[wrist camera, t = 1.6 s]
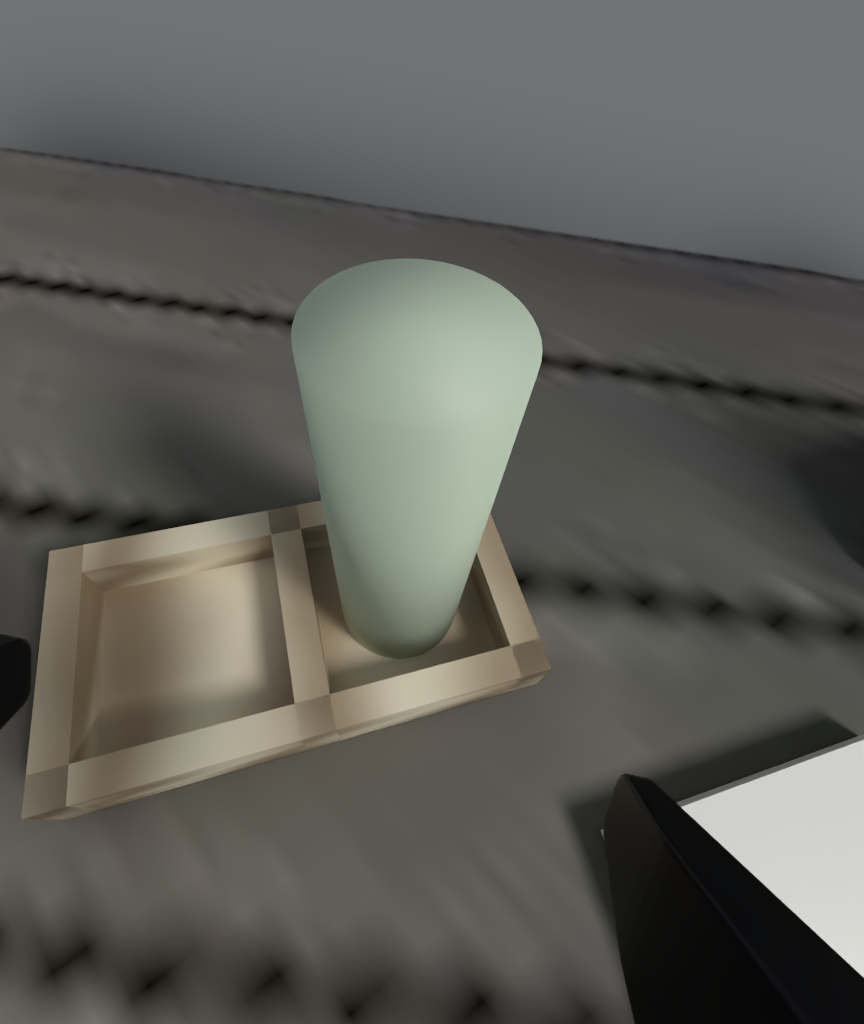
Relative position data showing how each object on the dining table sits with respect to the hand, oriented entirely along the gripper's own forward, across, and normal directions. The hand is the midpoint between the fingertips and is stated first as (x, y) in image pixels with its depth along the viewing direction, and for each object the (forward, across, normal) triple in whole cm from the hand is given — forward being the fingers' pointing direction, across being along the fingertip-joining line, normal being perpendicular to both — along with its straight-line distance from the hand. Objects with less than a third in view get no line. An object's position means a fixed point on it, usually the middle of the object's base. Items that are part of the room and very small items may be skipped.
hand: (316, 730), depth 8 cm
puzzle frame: (+13, +4, +6) cm, 14 cm away
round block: (+14, 0, +4) cm, 14 cm away
